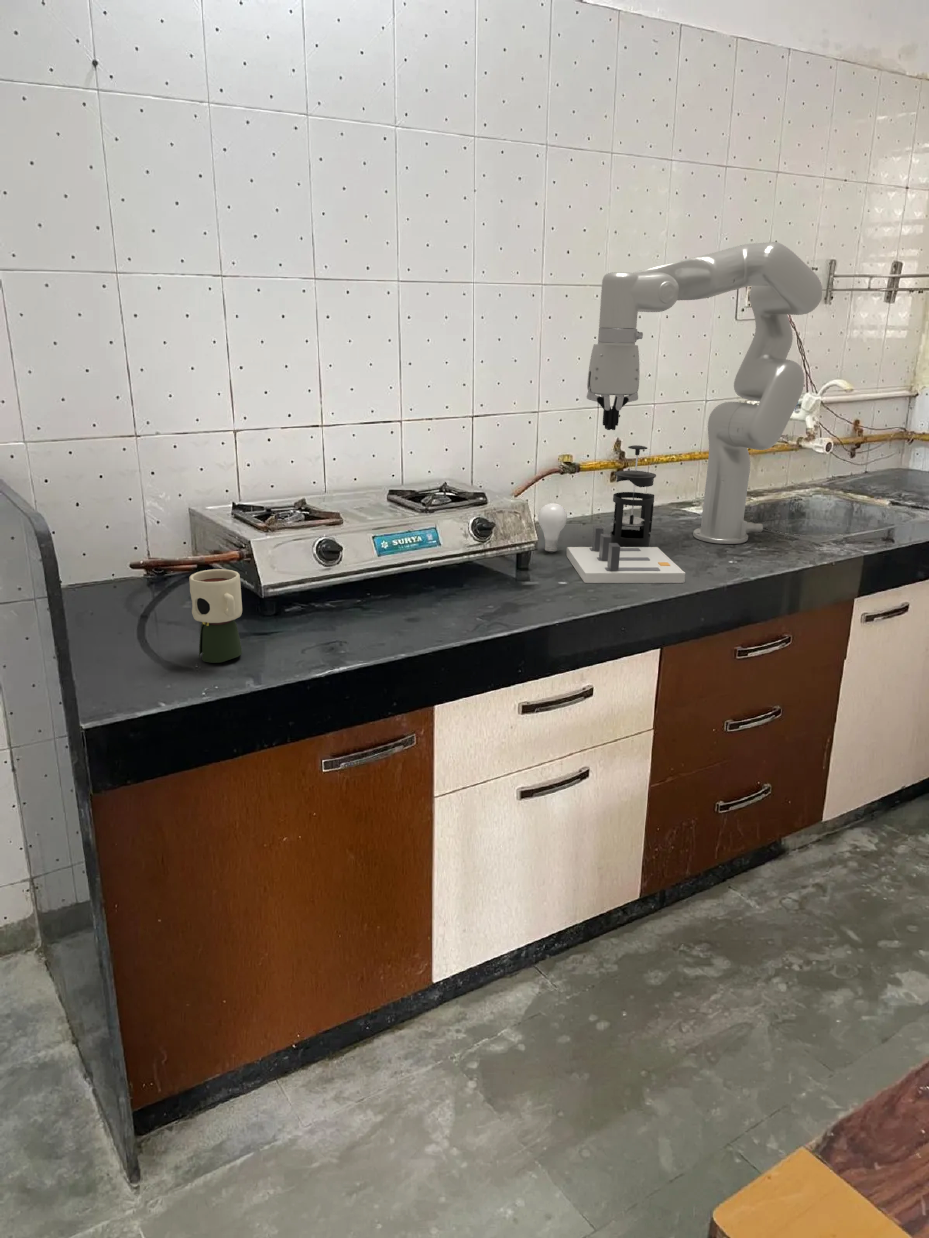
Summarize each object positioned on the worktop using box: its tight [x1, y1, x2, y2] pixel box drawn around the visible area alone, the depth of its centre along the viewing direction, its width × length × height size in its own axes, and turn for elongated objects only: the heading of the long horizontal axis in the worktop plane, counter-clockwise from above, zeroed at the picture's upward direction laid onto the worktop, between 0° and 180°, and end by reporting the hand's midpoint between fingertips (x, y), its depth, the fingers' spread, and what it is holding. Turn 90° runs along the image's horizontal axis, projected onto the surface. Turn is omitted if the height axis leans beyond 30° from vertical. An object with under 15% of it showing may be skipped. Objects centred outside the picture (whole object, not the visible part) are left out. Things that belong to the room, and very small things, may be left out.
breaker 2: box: [607, 543, 620, 570], centre depth 172 cm, size 2×3×5 cm, turn 4°
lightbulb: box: [537, 502, 568, 554], centre depth 190 cm, size 6×6×11 cm
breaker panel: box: [566, 546, 686, 584], centre depth 180 cm, size 20×20×2 cm
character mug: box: [188, 568, 243, 664], centre depth 128 cm, size 11×7×13 cm, turn 39°
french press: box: [609, 444, 657, 547], centre depth 193 cm, size 12×9×23 cm
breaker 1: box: [591, 524, 604, 550], centre depth 186 cm, size 2×3×5 cm, turn 4°
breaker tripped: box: [599, 533, 611, 560], centre depth 179 cm, size 2×3×5 cm, turn 4°
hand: (609, 429), depth 183 cm, fingers closed
